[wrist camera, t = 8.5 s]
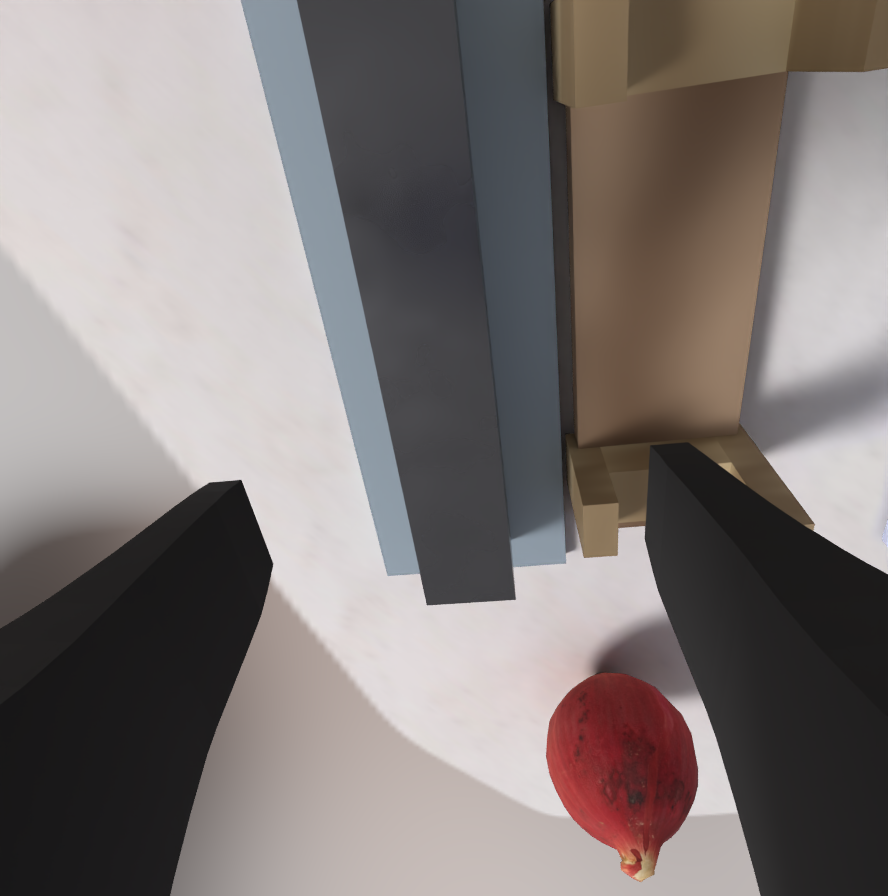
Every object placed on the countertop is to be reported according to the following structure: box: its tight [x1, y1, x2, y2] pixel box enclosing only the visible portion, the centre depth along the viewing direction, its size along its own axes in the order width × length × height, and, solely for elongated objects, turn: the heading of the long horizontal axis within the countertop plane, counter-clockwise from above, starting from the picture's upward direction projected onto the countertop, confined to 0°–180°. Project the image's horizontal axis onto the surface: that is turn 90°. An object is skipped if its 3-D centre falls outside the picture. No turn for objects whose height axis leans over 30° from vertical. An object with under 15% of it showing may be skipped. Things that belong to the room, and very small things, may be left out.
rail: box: [297, 0, 516, 605], centre depth 17 cm, size 3×18×3 cm, turn 8°
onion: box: [546, 673, 698, 882], centre depth 24 cm, size 6×6×8 cm
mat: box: [241, 0, 566, 576], centre depth 18 cm, size 7×21×1 cm, turn 8°
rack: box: [550, 0, 888, 558], centre depth 15 cm, size 6×17×6 cm, turn 8°
